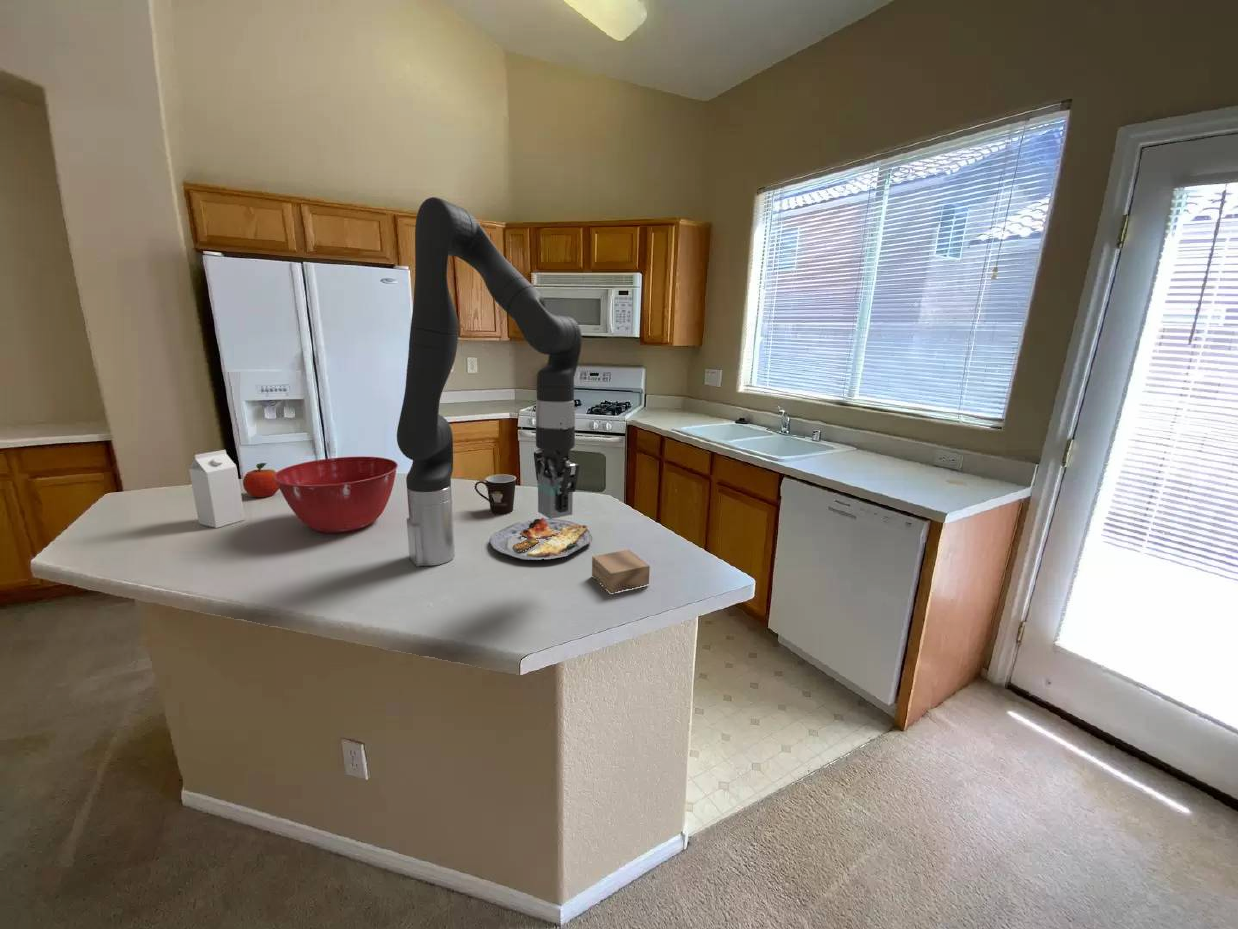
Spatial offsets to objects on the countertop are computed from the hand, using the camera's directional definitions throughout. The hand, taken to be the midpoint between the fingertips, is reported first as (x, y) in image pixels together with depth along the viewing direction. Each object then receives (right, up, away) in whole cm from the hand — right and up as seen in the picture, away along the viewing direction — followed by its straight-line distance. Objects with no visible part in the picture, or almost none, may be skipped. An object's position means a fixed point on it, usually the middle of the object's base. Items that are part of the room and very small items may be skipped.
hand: (555, 507), depth 101 cm
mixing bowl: (-61, -8, +34) cm, 70 cm away
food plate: (-6, -12, +26) cm, 29 cm away
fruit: (-97, -1, +55) cm, 111 cm away
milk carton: (-92, -7, +33) cm, 98 cm away
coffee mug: (-23, -5, +49) cm, 54 cm away
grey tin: (0, -1, 0) cm, 1 cm away
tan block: (+13, -17, +7) cm, 22 cm away
